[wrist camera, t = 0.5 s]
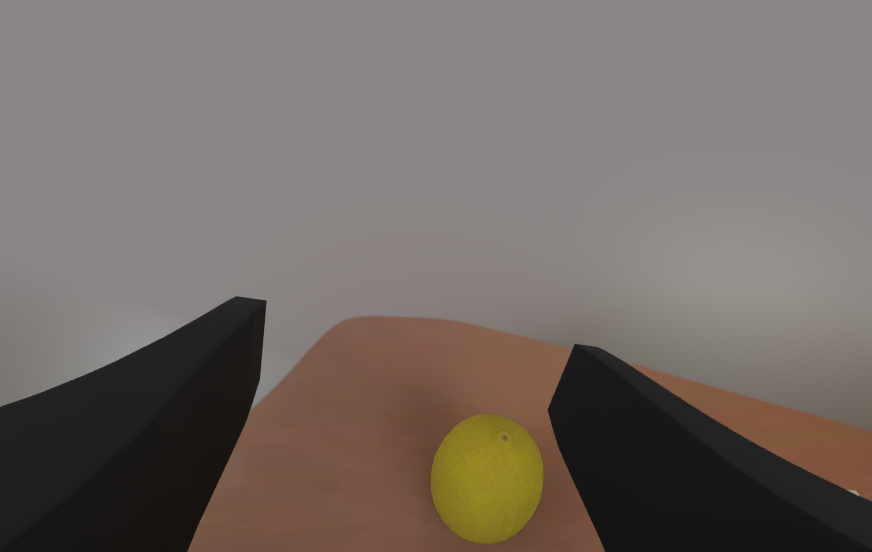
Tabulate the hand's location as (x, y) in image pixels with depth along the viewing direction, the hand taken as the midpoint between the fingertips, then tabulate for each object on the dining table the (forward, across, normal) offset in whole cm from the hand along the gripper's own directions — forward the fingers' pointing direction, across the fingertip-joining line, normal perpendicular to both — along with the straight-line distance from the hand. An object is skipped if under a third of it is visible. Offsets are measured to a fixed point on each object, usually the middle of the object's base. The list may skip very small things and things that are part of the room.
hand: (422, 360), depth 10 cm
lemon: (+8, -7, +16) cm, 19 cm away
